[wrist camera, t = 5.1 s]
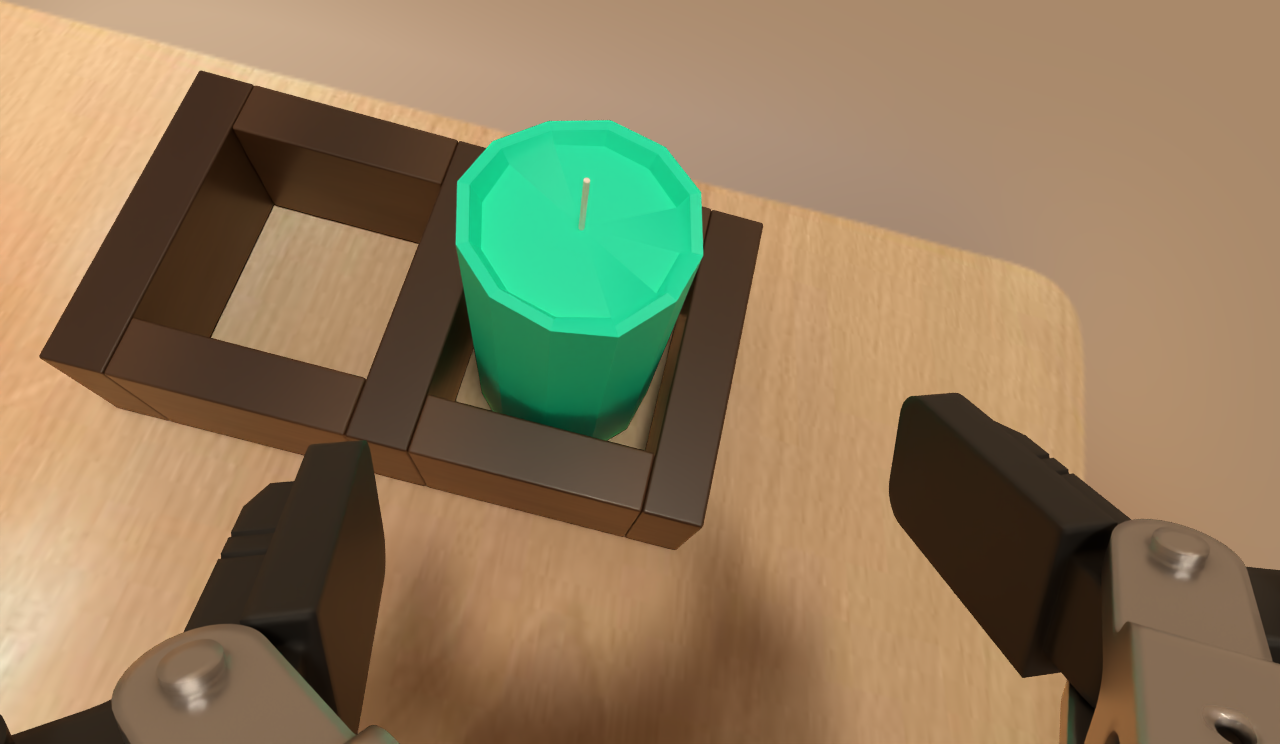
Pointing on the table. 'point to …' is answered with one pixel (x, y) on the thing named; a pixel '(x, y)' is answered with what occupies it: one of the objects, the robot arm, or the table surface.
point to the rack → (415, 335)
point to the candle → (575, 269)
